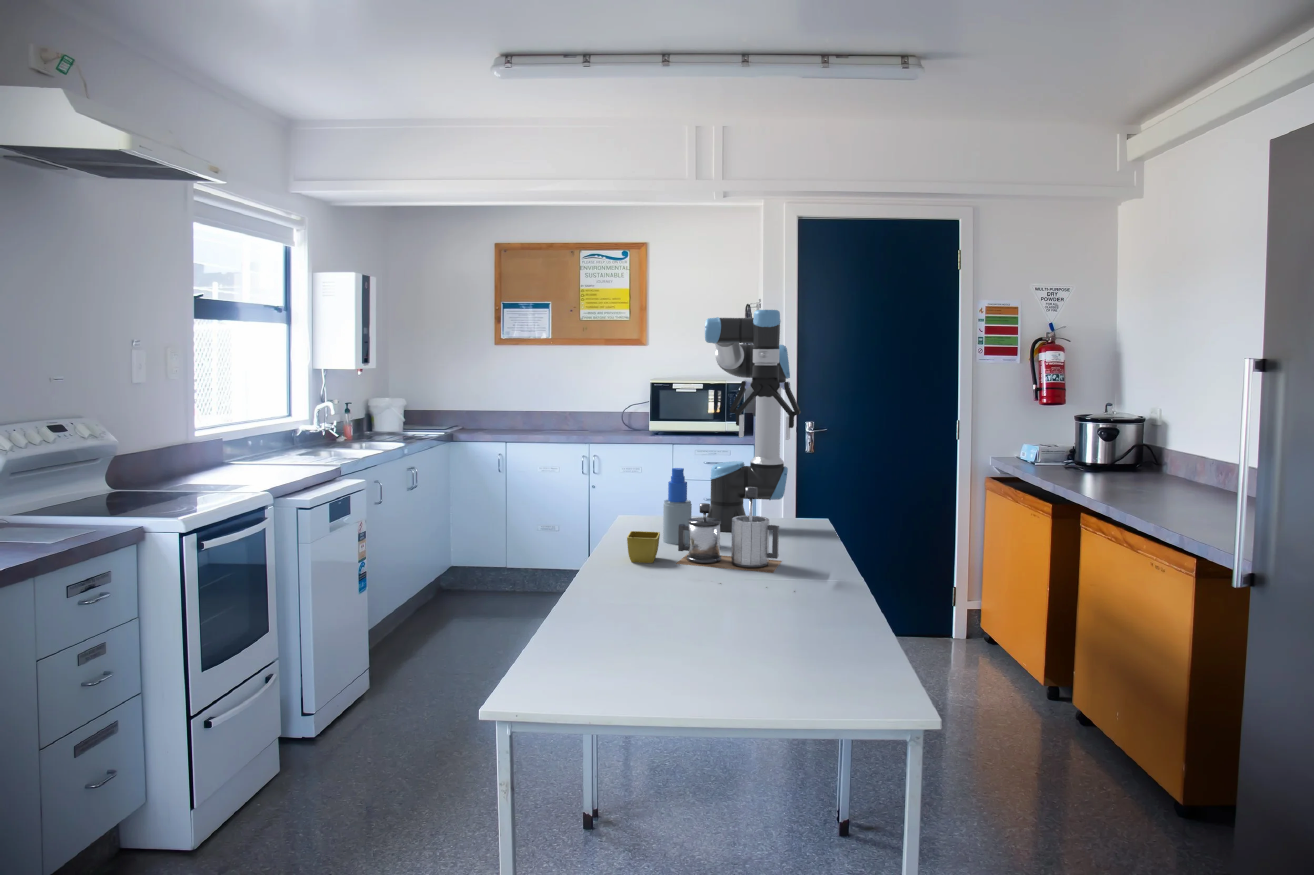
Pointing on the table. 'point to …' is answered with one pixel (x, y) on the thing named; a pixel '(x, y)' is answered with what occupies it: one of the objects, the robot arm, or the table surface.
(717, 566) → the serving board
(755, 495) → the plunger
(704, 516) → the short press
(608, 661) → the table surface
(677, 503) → the spray bottle
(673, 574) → the table surface
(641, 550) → the flower pot
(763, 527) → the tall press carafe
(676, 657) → the table surface
